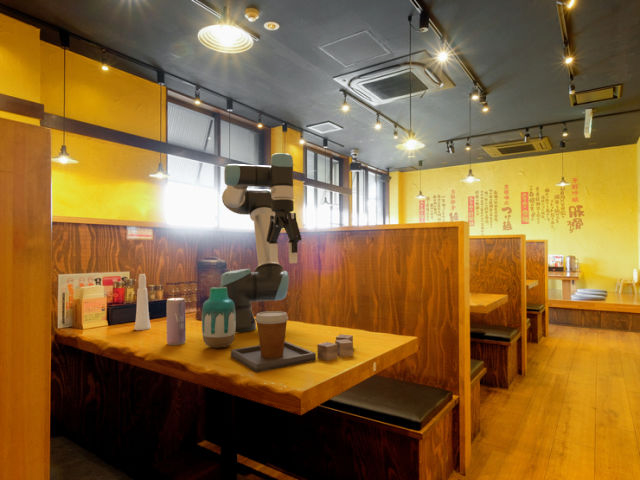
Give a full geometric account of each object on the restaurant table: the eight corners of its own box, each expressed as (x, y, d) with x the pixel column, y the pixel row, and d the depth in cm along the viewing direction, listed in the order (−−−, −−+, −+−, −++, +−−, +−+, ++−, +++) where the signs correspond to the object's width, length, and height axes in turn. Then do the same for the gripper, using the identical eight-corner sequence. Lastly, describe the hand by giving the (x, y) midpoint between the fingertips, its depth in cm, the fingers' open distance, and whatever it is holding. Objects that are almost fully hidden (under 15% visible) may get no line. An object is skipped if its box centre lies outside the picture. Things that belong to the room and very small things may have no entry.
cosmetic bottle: (148, 329, 155) (148, 274, 155) (132, 330, 154) (131, 274, 154) (152, 326, 161) (152, 273, 161) (136, 327, 160) (136, 273, 160)
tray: (230, 356, 114) (230, 349, 114) (284, 347, 124) (284, 340, 124) (256, 372, 99) (256, 364, 99) (315, 360, 109) (315, 353, 109)
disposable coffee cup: (283, 360, 106) (282, 316, 107) (250, 359, 108) (249, 316, 108) (292, 351, 116) (292, 311, 116) (262, 350, 118) (261, 310, 118)
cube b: (335, 353, 116) (335, 340, 116) (347, 352, 117) (347, 339, 117) (340, 357, 112) (340, 343, 112) (353, 355, 114) (352, 342, 114)
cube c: (336, 350, 120) (335, 337, 120) (341, 347, 124) (341, 334, 124) (348, 351, 118) (347, 338, 119) (353, 348, 122) (352, 335, 122)
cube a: (317, 358, 111) (317, 344, 112) (327, 355, 114) (327, 341, 114) (327, 361, 109) (327, 346, 109) (337, 358, 111) (337, 344, 112)
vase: (200, 345, 128) (199, 287, 129) (232, 341, 133) (232, 285, 133) (204, 353, 119) (203, 290, 119) (238, 349, 123) (238, 288, 123)
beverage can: (180, 340, 136) (180, 297, 136) (188, 343, 132) (188, 298, 132) (163, 343, 132) (163, 299, 132) (171, 346, 127) (171, 300, 128)
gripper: (256, 203, 140) (257, 262, 140) (290, 194, 119) (291, 263, 119) (275, 204, 144) (276, 261, 144) (311, 196, 124) (312, 263, 123)
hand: (283, 262), depth 131 cm, fingers open, 13 cm apart
